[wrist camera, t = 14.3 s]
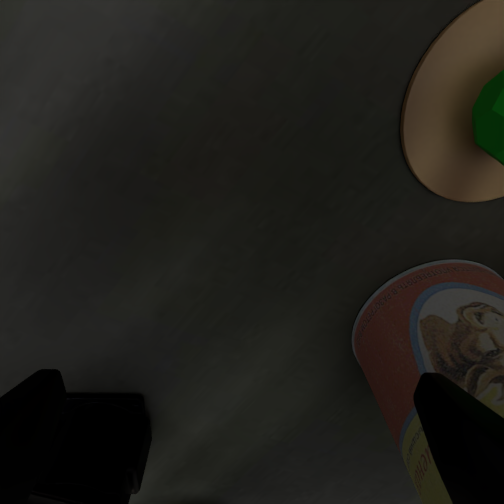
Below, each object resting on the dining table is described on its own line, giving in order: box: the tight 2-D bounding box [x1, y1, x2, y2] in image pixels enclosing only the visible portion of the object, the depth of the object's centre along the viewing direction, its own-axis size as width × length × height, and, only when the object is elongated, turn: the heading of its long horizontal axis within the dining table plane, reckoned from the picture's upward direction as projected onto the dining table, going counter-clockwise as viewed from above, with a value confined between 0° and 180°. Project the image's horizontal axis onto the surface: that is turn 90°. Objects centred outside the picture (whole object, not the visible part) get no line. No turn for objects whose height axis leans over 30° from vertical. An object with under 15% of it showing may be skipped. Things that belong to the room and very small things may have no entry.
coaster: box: [400, 0, 504, 202], centre depth 17 cm, size 10×10×1 cm
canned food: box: [352, 259, 504, 504], centre depth 18 cm, size 11×11×12 cm
